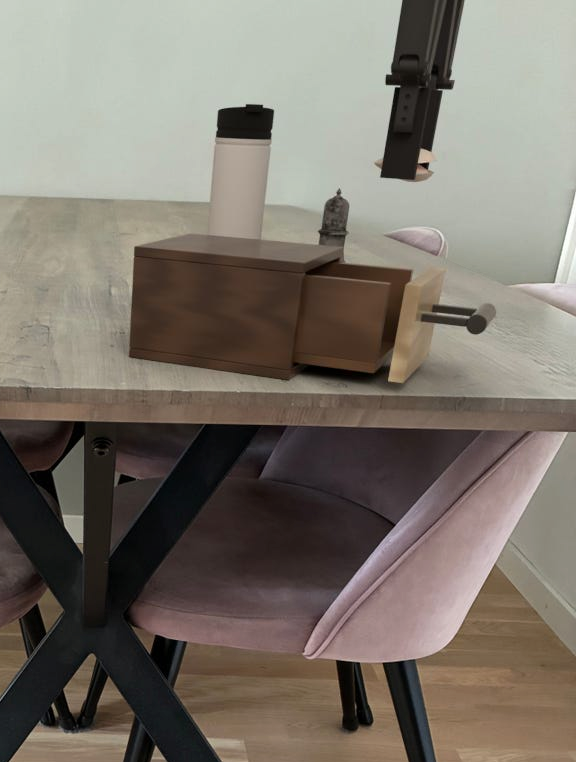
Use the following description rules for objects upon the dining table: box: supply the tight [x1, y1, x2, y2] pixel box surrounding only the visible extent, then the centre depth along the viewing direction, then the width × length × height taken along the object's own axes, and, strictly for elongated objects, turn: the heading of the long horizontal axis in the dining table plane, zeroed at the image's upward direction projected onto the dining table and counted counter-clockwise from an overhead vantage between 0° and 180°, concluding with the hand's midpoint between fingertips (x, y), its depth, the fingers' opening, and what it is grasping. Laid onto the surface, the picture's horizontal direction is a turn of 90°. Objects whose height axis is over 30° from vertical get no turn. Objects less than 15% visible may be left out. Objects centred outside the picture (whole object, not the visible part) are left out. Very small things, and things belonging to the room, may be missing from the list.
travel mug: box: [206, 103, 275, 240], centre depth 109 cm, size 6×7×20 cm
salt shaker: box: [317, 188, 350, 263], centre depth 112 cm, size 6×6×12 cm
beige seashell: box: [373, 149, 437, 183], centre depth 80 cm, size 4×5×2 cm
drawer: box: [294, 261, 497, 384], centre depth 79 cm, size 18×11×7 cm, turn 63°
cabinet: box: [128, 232, 345, 381], centre depth 84 cm, size 15×13×9 cm
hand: (404, 176), depth 80 cm, fingers closed on beige seashell, 4 cm apart
